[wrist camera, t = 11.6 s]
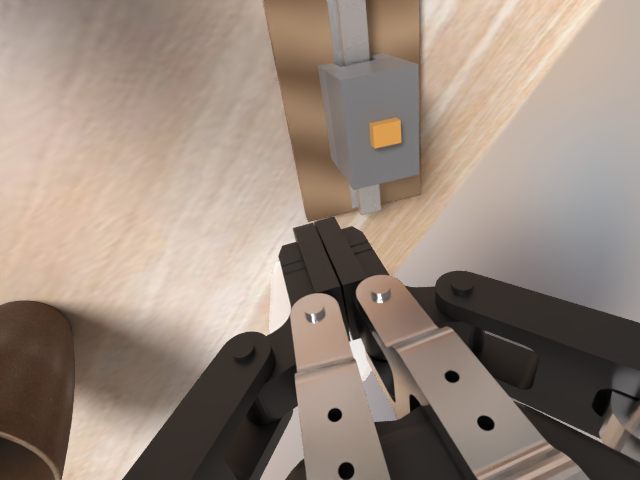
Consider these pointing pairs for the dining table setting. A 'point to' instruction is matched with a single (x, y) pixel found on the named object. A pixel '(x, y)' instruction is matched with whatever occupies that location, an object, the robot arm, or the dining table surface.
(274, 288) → the foam cup
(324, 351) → the robot arm
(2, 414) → the plant pot
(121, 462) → the dining table surface
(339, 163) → the block
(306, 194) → the board
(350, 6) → the rail
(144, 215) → the dining table surface
